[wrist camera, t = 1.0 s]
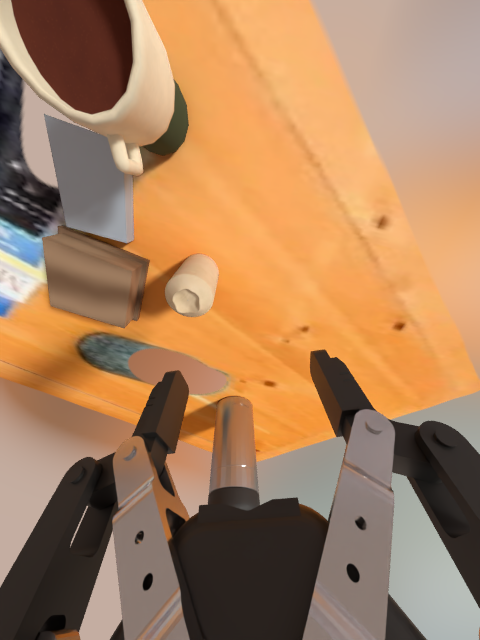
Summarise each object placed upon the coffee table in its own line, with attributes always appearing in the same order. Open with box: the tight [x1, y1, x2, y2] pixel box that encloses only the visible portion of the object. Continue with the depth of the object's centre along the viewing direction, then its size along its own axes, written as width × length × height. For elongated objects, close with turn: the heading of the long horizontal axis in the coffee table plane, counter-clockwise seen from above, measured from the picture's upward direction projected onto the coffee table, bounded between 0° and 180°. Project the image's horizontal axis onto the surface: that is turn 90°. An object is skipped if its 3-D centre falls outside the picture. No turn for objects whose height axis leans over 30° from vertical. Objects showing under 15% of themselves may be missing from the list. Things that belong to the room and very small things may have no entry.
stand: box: [42, 225, 150, 328], centre depth 27 cm, size 11×11×4 cm
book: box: [44, 114, 134, 243], centre depth 22 cm, size 10×7×2 cm
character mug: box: [0, 0, 189, 176], centre depth 14 cm, size 11×7×13 cm, turn 179°
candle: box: [165, 254, 219, 317], centre depth 24 cm, size 6×6×10 cm
